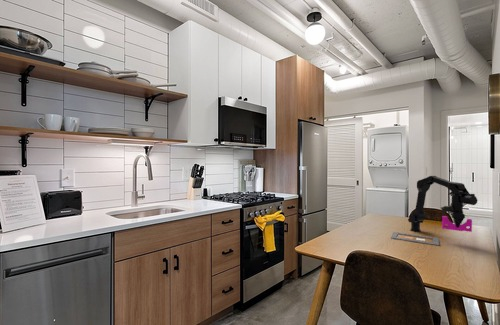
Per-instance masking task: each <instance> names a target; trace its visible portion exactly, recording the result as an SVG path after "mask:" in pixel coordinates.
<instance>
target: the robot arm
mask: <svg viewBox="0 0 500 325" xmlns="http://www.w3.org/2000/svg"><path fill="white" fill-rule="evenodd" d="M434 184H437V185H440V186H441V187H442V186H443V187H444V188H447V189H448V190H449V191H450V192H449V193H448V195H450V196H451V203H450V204H449V205H445V206H441V207H440V209H441V212H442V213H443V214H446V213H448V212H449V214H450V215H451V218H452V219H453V222H454V223H453V224H456V228H458V227H459V226H460V225H461V224H462V222H463V221H464V219H465V218H466V215H465V214H464V211H463V209H464V205H468V206H469V205H470V206H475V205H477V203H478V198H477V197H476V194H475V193H470V192H469V191H468V189H467V188H466V186H465V184H464V183H461V182H454V181H450V180H447V179H444V178H441V177H438V176H436V175H429V176H427V177H424V178H422V179H418V180H417V182H416V188H417V191H418V193H417V197H416V203H415V208H414V210H413V211H412V212H411V216H410V217H409V218H408V220H407V221H408V223H410V231H412V232H421V231H422V230H421V224H423V223H424V221H425V219H426V216H427V213H425V211H424V207H425V202H426V195H427V193H428V191H429V190H430V188H431V186H432V185H434Z"/></svg>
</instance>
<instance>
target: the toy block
mask: <svg viewBox="0 0 500 325" xmlns="http://www.w3.org/2000/svg"><path fill="white" fill-rule="evenodd" d="M441 217H442V220H441V225H442V226H441V229H443V230H444V229H445V230H452V231H457V232H458V231H459V232H470V233H472V231H473V230H472V229H473V219H472V218H466V221H465V222H463V223H461V224H460V226H459V227H458V228H456V224H455V223H453V222H452V221H451V220H449V217H448V216H446V215H442V216H441Z"/></svg>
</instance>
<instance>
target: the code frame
mask: <svg viewBox="0 0 500 325" xmlns="http://www.w3.org/2000/svg"><path fill="white" fill-rule="evenodd" d="M398 235H401V236H402V235H403V236H404V237H398ZM414 237H415V239H414ZM390 239H391V240H397V241H398V240H399V241H404V242H405V241H406V242H412V243H417V244H418V243H419V244H424V245H430V246H438V247H440V241H439V240H440V239H439V238H438V237H431V236H426V235H419V234H412V233H404V232H397V231H392V234H391V236H390ZM426 239H428V240H432V242H430V241H426Z"/></svg>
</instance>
